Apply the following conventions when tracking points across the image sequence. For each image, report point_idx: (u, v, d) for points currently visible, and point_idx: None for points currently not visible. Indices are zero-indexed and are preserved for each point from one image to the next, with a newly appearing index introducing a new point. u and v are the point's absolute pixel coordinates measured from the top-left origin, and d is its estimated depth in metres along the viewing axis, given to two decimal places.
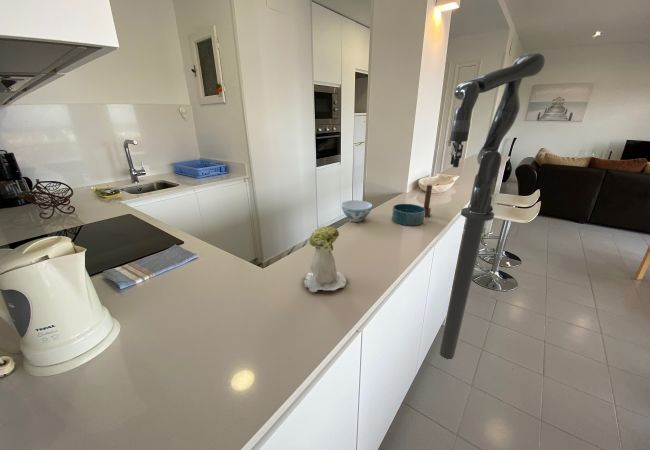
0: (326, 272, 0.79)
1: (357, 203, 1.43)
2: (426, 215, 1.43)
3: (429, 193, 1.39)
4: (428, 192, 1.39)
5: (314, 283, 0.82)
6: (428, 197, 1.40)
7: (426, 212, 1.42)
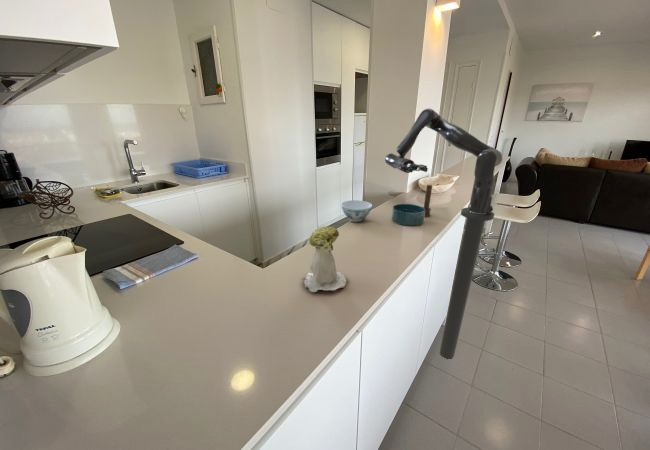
0: (326, 272, 0.79)
1: (357, 203, 1.43)
2: (426, 215, 1.43)
3: (429, 193, 1.39)
4: (428, 192, 1.39)
5: (314, 283, 0.82)
6: (428, 197, 1.40)
7: (426, 212, 1.42)
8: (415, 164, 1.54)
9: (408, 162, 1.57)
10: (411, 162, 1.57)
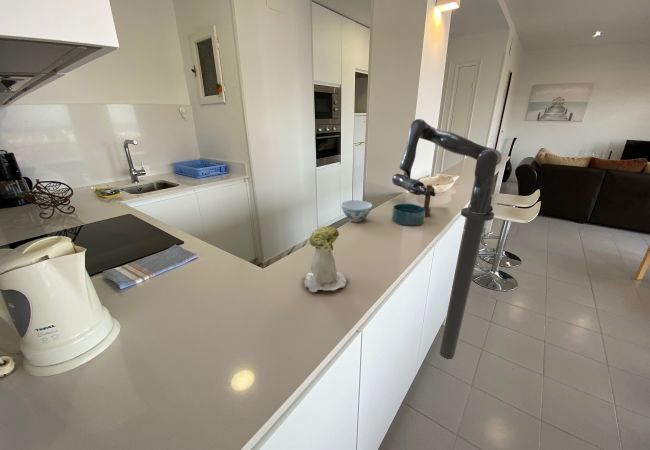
0: (326, 272, 0.79)
1: (357, 203, 1.43)
2: (426, 215, 1.43)
3: None
4: None
5: (314, 283, 0.82)
6: (428, 197, 1.40)
7: (426, 212, 1.42)
8: (424, 187, 1.45)
9: (418, 184, 1.48)
10: (421, 184, 1.49)
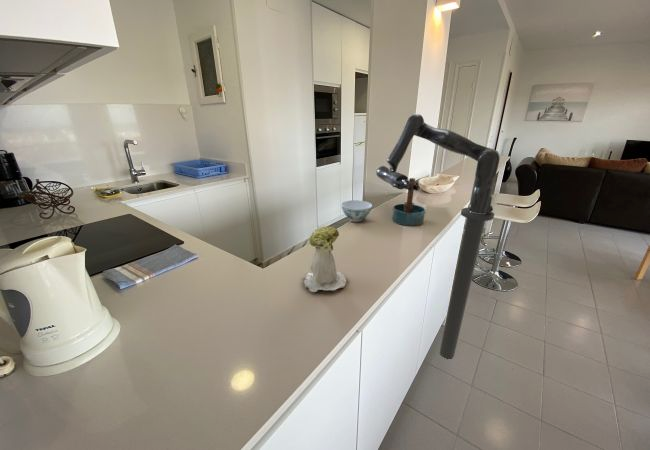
0: (326, 272, 0.79)
1: (357, 203, 1.43)
2: (409, 211, 1.33)
3: (412, 187, 1.30)
4: None
5: (314, 283, 0.82)
6: (411, 191, 1.31)
7: (409, 207, 1.33)
8: (408, 180, 1.36)
9: (401, 178, 1.39)
10: (404, 177, 1.39)
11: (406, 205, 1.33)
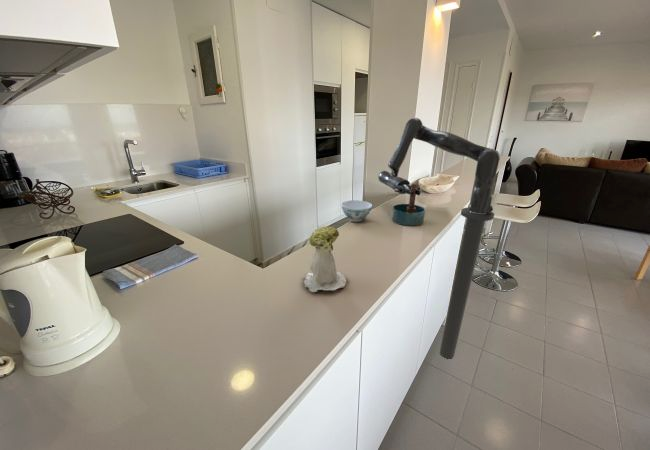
0: (326, 272, 0.79)
1: (357, 203, 1.43)
2: None
3: (414, 192, 1.32)
4: None
5: (314, 283, 0.82)
6: (413, 196, 1.33)
7: (411, 212, 1.35)
8: (409, 185, 1.38)
9: (403, 182, 1.41)
10: (406, 182, 1.41)
11: (408, 210, 1.35)
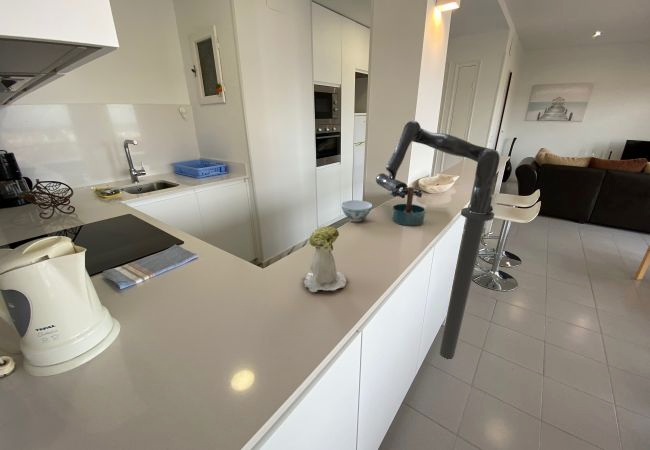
0: (326, 272, 0.79)
1: (357, 203, 1.43)
2: None
3: (411, 196, 1.31)
4: (409, 195, 1.31)
5: (314, 283, 0.82)
6: (410, 200, 1.32)
7: None
8: None
9: (400, 185, 1.40)
10: (404, 185, 1.40)
11: None
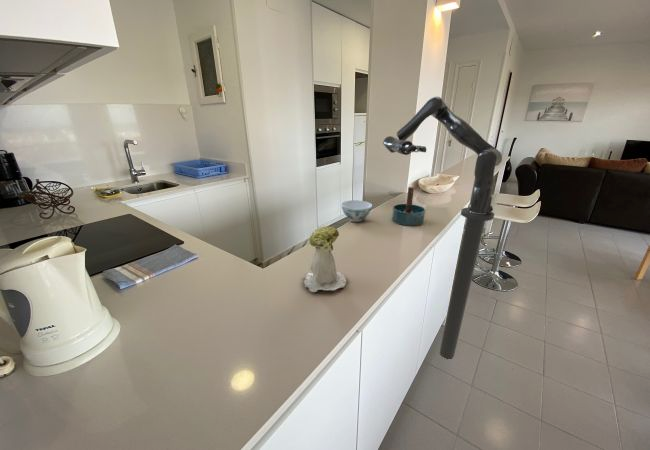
0: (326, 272, 0.79)
1: (357, 203, 1.43)
2: None
3: (411, 196, 1.31)
4: (409, 195, 1.31)
5: (314, 283, 0.82)
6: (410, 200, 1.32)
7: None
8: (413, 145, 1.49)
9: (406, 143, 1.52)
10: (409, 143, 1.52)
11: None
